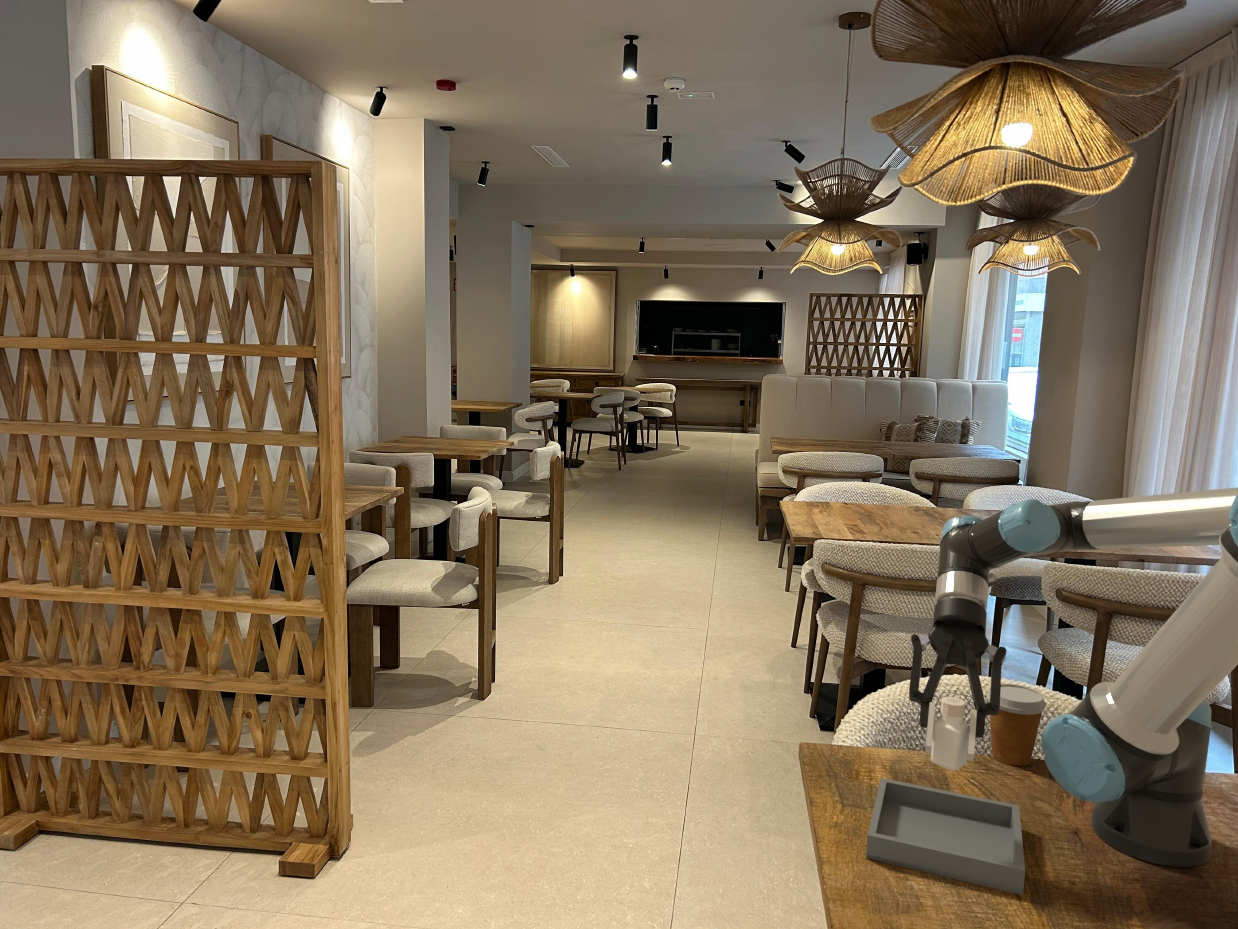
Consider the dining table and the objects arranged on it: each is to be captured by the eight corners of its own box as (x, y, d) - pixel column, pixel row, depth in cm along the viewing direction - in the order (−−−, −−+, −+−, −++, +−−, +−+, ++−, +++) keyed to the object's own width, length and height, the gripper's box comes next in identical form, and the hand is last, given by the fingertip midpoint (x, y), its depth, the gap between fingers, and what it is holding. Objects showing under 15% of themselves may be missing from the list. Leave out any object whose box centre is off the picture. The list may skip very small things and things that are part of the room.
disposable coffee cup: (1047, 773, 147) (1053, 706, 146) (988, 766, 149) (993, 700, 147) (1032, 748, 156) (1038, 685, 155) (976, 742, 158) (982, 680, 157)
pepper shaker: (928, 763, 124) (933, 700, 123) (941, 754, 127) (946, 693, 126) (955, 773, 121) (960, 709, 120) (968, 764, 124) (973, 701, 123)
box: (1017, 827, 130) (1018, 805, 129) (1022, 895, 113) (1025, 870, 113) (879, 798, 137) (880, 778, 137) (866, 858, 121) (867, 835, 120)
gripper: (1021, 627, 133) (1017, 776, 120) (900, 611, 139) (883, 751, 126) (1026, 603, 127) (1022, 756, 114) (899, 588, 134) (882, 731, 121)
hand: (949, 753), depth 120 cm, fingers closed on pepper shaker, 5 cm apart
